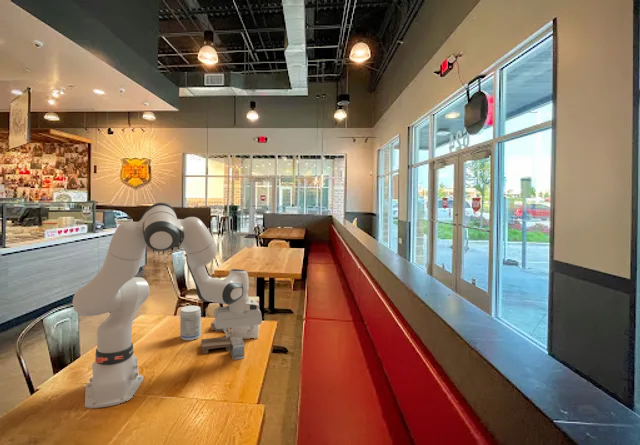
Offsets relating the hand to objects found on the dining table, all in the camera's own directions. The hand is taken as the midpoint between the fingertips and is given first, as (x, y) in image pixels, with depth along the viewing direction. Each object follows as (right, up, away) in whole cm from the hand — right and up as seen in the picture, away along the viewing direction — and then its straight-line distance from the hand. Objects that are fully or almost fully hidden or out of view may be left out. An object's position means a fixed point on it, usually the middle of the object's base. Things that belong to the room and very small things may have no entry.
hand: (238, 335), depth 156 cm
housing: (-1, -9, +2) cm, 9 cm away
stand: (-12, -8, +8) cm, 17 cm away
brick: (-12, -7, +31) cm, 34 cm away
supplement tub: (-28, -7, +19) cm, 35 cm away
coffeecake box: (-3, -7, +22) cm, 23 cm away
